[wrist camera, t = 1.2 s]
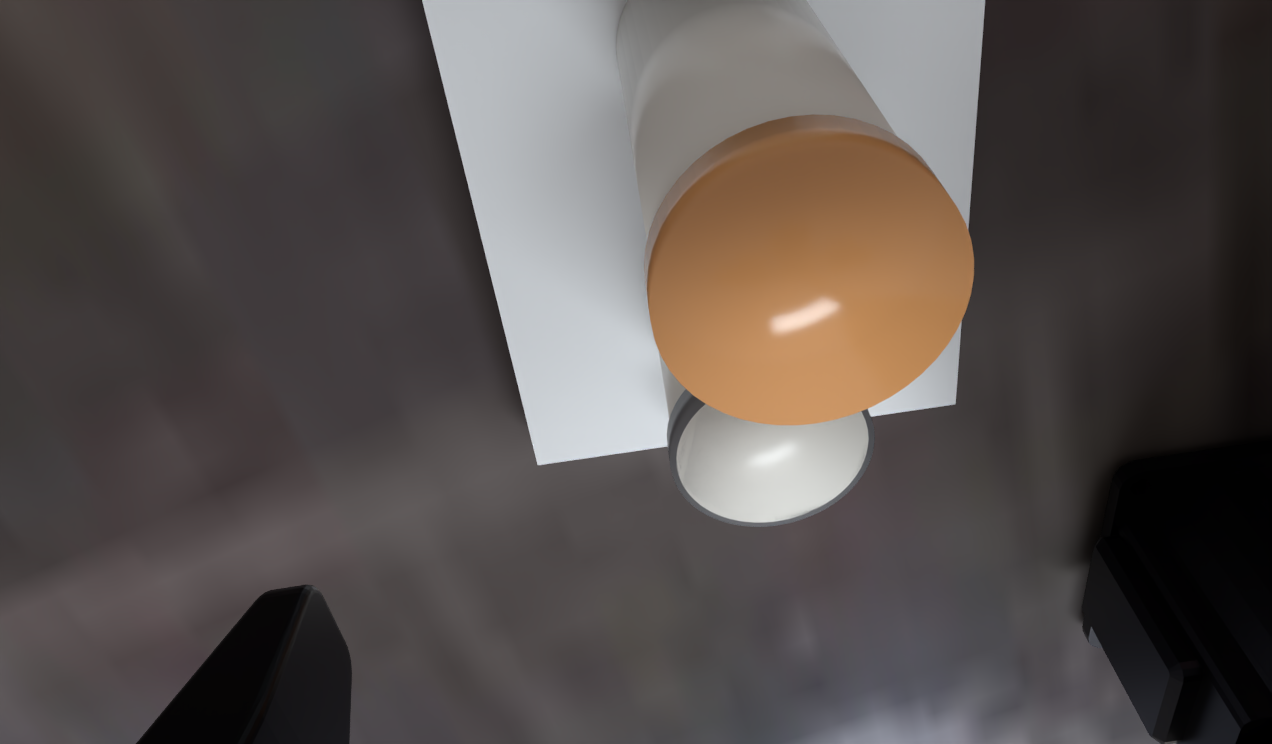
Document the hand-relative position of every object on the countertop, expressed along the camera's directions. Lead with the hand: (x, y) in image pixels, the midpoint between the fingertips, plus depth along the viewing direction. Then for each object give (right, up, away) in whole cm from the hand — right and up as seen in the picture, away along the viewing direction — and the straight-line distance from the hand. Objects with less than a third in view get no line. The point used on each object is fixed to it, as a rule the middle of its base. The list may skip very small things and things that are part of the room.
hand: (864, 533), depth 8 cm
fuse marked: (-1, +7, +9) cm, 11 cm away
